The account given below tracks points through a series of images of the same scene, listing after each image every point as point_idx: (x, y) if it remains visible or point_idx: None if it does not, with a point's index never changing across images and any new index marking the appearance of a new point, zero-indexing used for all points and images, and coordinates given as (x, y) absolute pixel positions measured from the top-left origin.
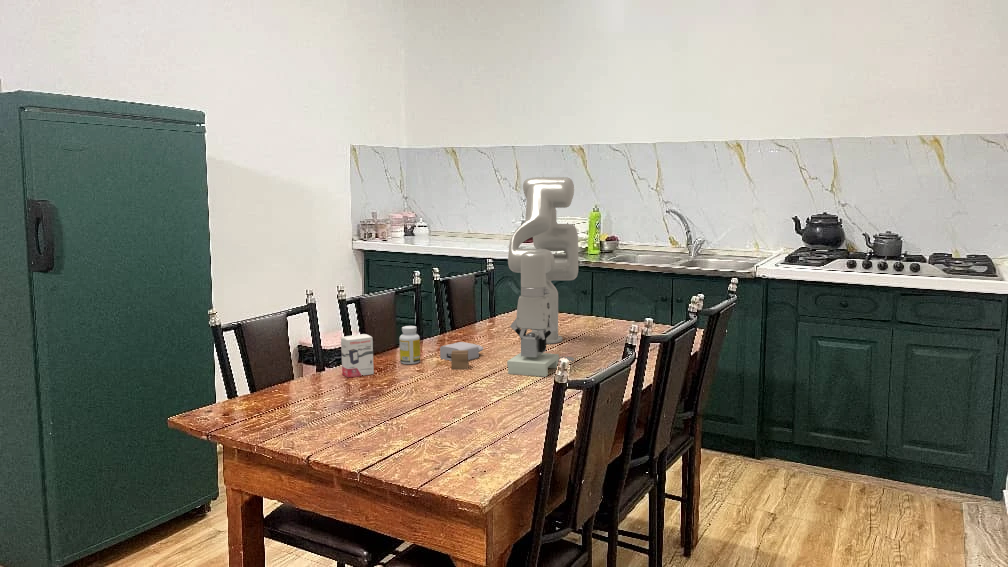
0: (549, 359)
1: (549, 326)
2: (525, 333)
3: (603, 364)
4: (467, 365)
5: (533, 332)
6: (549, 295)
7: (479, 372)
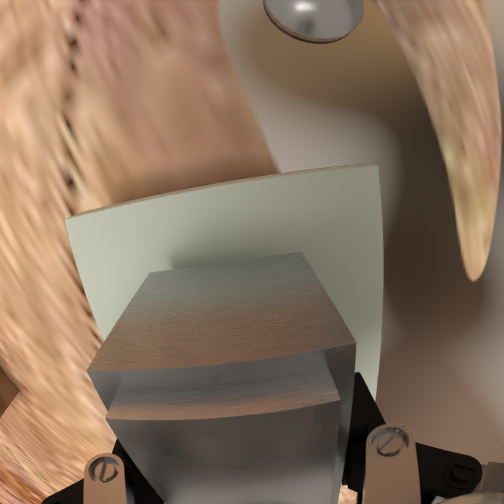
0: (369, 352)
1: (487, 501)
2: (129, 495)
3: (492, 49)
4: (12, 399)
5: (175, 457)
6: None
7: (74, 417)
